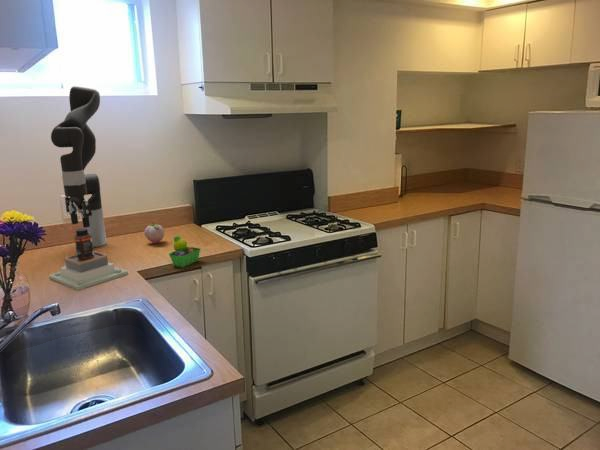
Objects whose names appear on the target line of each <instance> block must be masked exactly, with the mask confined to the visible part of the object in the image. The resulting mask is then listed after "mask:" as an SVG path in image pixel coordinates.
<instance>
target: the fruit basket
mask: <svg viewBox="0 0 600 450" xmlns="http://www.w3.org/2000/svg"><path fill="white" fill-rule="evenodd" d="M172 245H173V249H174V250H175V251H172V252H170V253H168V256H169V257H170V260H171V262H172V265H173V266H176V267H181V268H184V267H187V266H189V265H191V264H194V263H195V262H198V261H199V257H200V253H201V248H200V247H193V246H187V245H188V242H187V241H186V240H185V239H184V238H183V237H181V236H180V235H175V236H174V237H173V243H172Z"/></svg>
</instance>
